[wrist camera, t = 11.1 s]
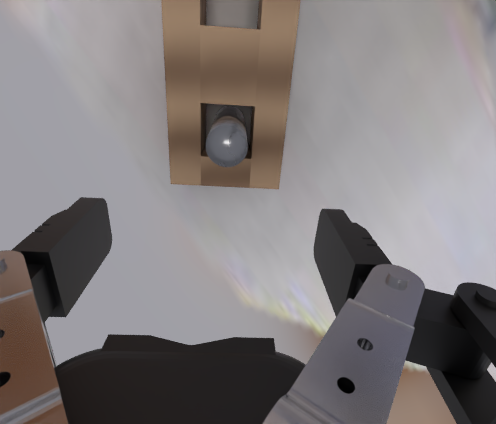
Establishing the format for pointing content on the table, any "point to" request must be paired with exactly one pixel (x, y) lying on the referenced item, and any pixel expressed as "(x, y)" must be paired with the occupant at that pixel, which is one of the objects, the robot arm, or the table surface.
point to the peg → (227, 138)
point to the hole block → (228, 89)
